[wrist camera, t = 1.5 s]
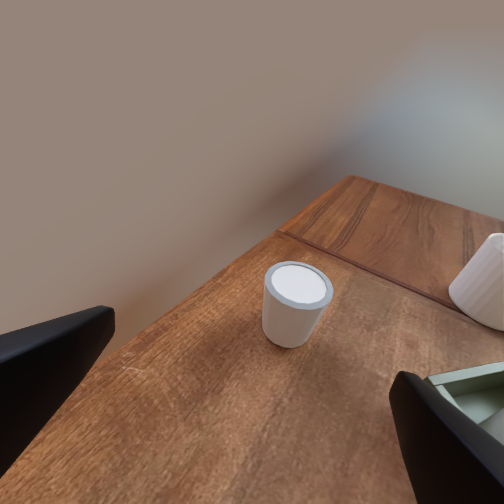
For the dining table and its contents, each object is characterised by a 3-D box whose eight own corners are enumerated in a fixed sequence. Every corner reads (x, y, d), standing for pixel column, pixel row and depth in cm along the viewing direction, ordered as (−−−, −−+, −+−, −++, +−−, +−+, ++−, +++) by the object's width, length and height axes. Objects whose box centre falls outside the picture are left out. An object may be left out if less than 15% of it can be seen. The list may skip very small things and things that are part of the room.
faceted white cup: (324, 323, 30) (343, 280, 26) (298, 366, 25) (317, 322, 21) (275, 295, 33) (285, 252, 29) (244, 329, 28) (251, 283, 24)
